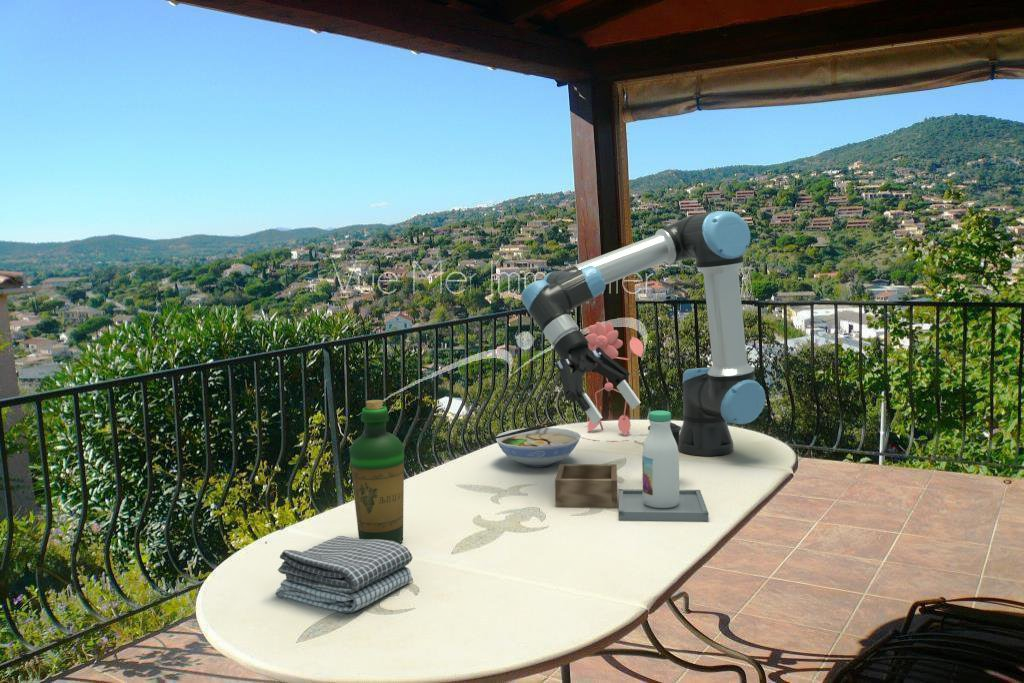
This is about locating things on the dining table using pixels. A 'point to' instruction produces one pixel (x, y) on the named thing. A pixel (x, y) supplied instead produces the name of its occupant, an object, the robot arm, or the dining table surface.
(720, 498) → the dining table surface
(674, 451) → the milk bottle
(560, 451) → the ramen bowl
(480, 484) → the dining table surface
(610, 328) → the figurine
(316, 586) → the towel
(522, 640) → the dining table surface
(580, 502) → the holder
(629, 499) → the tray
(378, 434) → the bottle
